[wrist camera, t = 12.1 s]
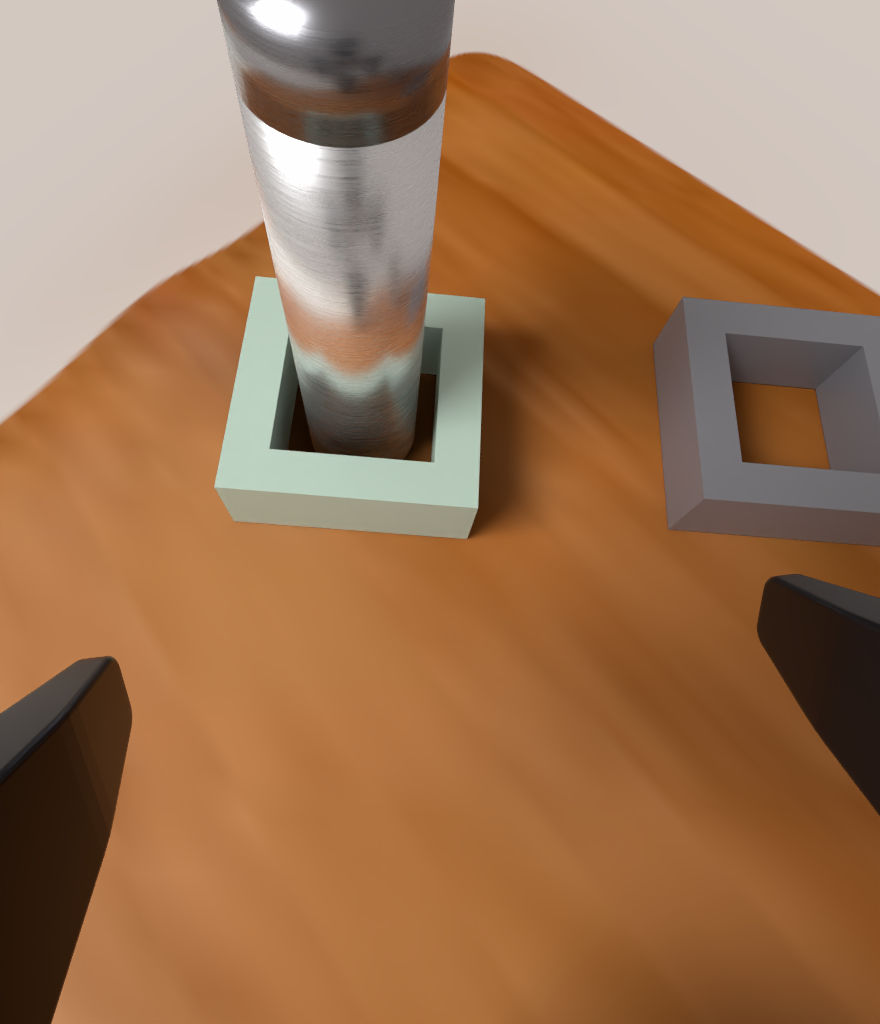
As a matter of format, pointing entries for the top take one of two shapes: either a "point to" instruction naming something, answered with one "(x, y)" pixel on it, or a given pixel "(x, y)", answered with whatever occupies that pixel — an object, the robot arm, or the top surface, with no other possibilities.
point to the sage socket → (353, 479)
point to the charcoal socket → (714, 432)
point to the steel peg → (347, 196)
